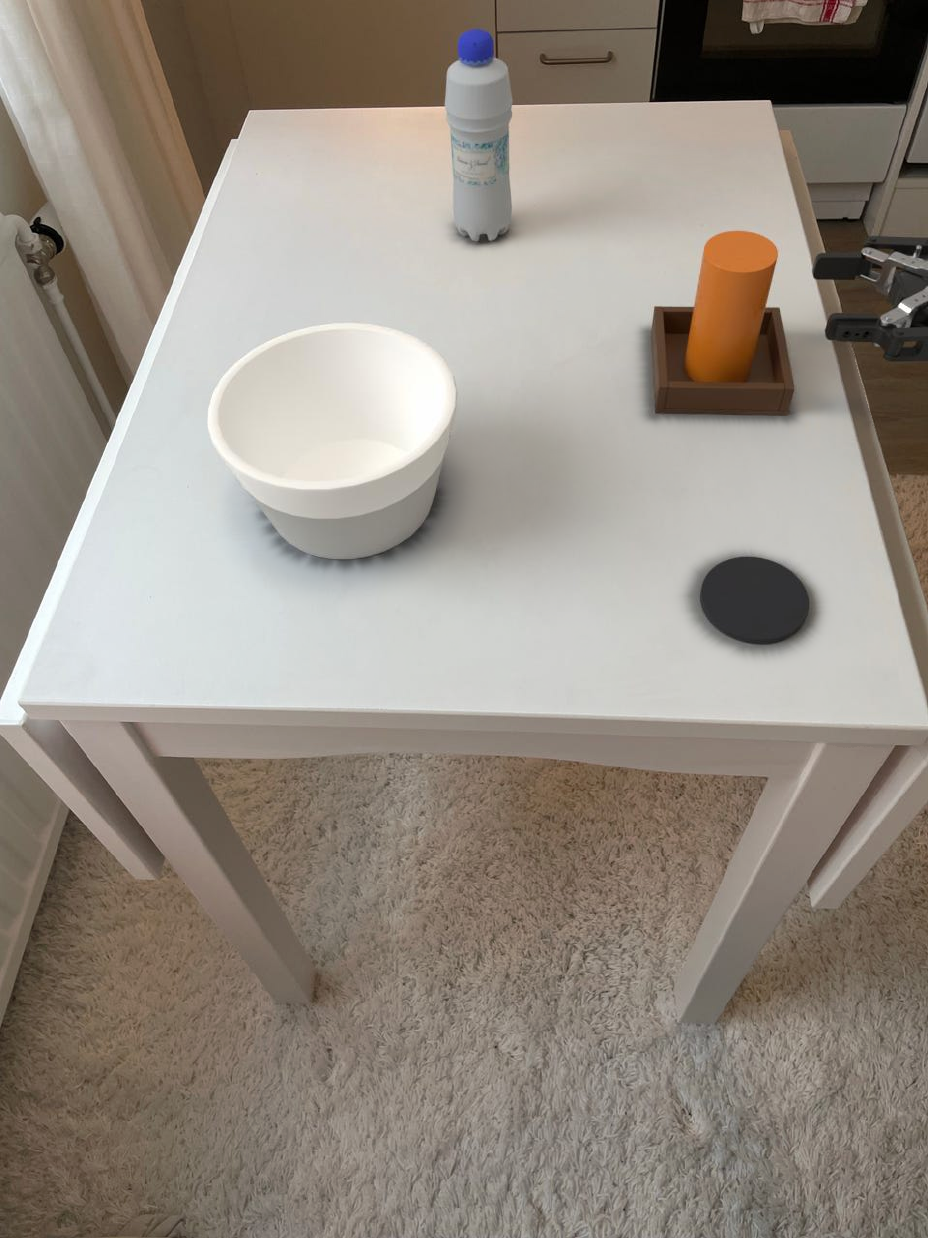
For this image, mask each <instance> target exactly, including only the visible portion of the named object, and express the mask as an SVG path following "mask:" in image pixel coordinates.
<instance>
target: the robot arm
mask: <svg viewBox="0 0 928 1238" xmlns="http://www.w3.org/2000/svg"><path fill="white" fill-rule="evenodd" d="M865 238H866V239H865V242H864V244H863V247H862V249H861V250H860V251H857V252H842V251H841V252H838V251H837V252H836V251H835V252H833V251H832V252H830V251H829V252H820V253H818V254H817V255H816V256H815V259H814V262H813V266H812V269H811V273H812V278H813V279H814V280H819V281H821V280H823V281H829V280H830V281H855V280H856V279H857V280H859V281H862V282H865V283H867V284H869V285H871V286H874V288H875V291H876V292H877V293H878V294H880V295H883V296H886V297H887V298H888V301H889V303H890V304H891V305H892V309H891V310H889V311H888V312H885V313H884V314H881V315H880V317H879V316H878V313H877V312H875V313H874V312H833V313H831V314H830V315H829V316H828V318H827V321H826V325H825V328H824V335H825V338H826V339H827V340H828V341H836V342H840V343H841V342H843V343H847V342H848V343H849V342H850V343H853V342H854V343H871V344H872V345H873V346H874V347H876V348H881V349H882V351H883V356H882V357H883V359H884V360H885V361H888V362H892V363H893V362H895V363H896V362H897V363H898V362H928V237H914V236H913V237H912V236H887V235H886V236H885V235H869V236H867V237H865ZM878 249H880V250H881V249H882V250H890V251H889V253H886V252H883V251H880V250H878ZM872 269H882V270H881V271H880V273H879V272H877V271H874V270H872ZM896 270H901V271H899V272H897V274H895V272H896ZM907 342H908V343H910V342H911V343H913V342H914V343H915V345H913V346H908V347H907V346H906V347H904V345H905V343H907Z"/></svg>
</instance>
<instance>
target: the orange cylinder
mask: <svg viewBox="0 0 928 1238" xmlns="http://www.w3.org/2000/svg"><path fill="white" fill-rule="evenodd" d="M778 258H779V251H778V248H777V246H776V245H775V243H774V242H773V241H772V240H770V239H769V238H768V237H766V236H764V235H762V234H759V233H756V232H752V231H748V230H728V231H724V232H723V231H722V232H720V233H717V234H715V235H713V236H712V237H710V238H709V239H708V240H706V242H705V244H704V246H703V250H702V257H701V262H700V269H699V275H698V282H697V286H696V292H695V298H694V305H693V307H694V310H693V316H692V321H691V327H690V333H689V339H688V345H687V351H686V357H685V363H684V368H685V372H686V374H687V375H688V376H689V377H690V379H692V380H693V381H694V382H742V383H743V382H744V381H745V380H746V379H747V378H748V376H749V374H750V370H751V366H752V362H753V358H754V354H755V349H756V345H757V341H758V337H759V333H760V329H761V324H762V320H763V316H764V312H765V308H766V307H767V303H768V298H769V295H770V291H771V287H772V282H773V278H774V274H775V269H776V265H777V261H778Z"/></svg>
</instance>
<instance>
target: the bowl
mask: <svg viewBox="0 0 928 1238" xmlns="http://www.w3.org/2000/svg"><path fill="white" fill-rule="evenodd" d="M457 401H458V388H457V384H456V380H455V376H454V374H453V373H452V371H451V369H450V367H449V366H448V364H447V362H446V360H445V359H443V357H442V356H441V355H440V354H439V353H438V352H437V351H436V350H435V349H434V348H433V347H431V346H430V345H429V344H428V343H426V342H424V341H422V340H421V339H420V338H418V337H416V336H413V335H411V334H409V333H406V332H404V331H402V330H399V329H395V328H391V327H388V326H383V325H380V324H372V323H362V322H335V323H328V324H327V323H326V324H320V325H319V324H318V325H312V326H307V327H304V328H299V329H296V330H293V331H289V332H287V333H285V334H282V335H279V336H277V337H274V338H272V339H270V340H268V341H266V342H264V343H262V344H261V345H259V346H257V347H255V348H253V349H252V350H250V351H249V352H248V353H246V354H245V355H244V356H242V357H241V358H240V359H238V360H237V361H236V362H235V363H233V365H232V366H231V367H230V368H229V369H228V370H227V371H226V372H225V374H224V375H223V376H221V379H220V380H219V382H218V383H217V385H216V387H215V389H214V390H213V392H212V395H211V398H210V401H209V405H208V408H207V430H208V434H209V437H210V441H211V444H212V445H213V447H214V449H215V450H216V452H217V453H218V455H219V456H220V458H221V459H222V461H223V462H224V463H225V465H226V466H227V467H228V468H229V470H230V471H231V472H232V474H233V475H234V477H235V478H236V479H237V480H238V482H239V483H240V484H241V486H242V487H243V488H244V490H245V491H247V493H248V494H249V496H250V497H251V498H252V499H253V501H254V502H255V503H256V505H257V507H258V508H259V509H260V510H261V511H262V513H263V514H264V515H265V517H266V518H267V519H268V520H269V522H270V524H271V525H272V526H273V527H274V529H275V530H276V531H277V533H278V534H279V535H280V536H281V537H282V538H283V539H284V540H285V541H286V542H287V543H288V544H289V545H291V546H292V547H294V548H296V549H297V550H299V551H301V552H303V553H305V554H309V555H311V556H315V557H317V558H323V559H324V558H325V559H330V560H356V559H361V558H367V557H371V556H374V555H378V554H381V553H384V552H386V551H388V550H391V549H392V548H395V547H397V546H399V545H400V544H402V543H403V542H404V541H405V540H407V539H409V538H410V537H411V536H412V535H413V534H415V533H416V531H417V530H419V528H420V527H422V525H423V523H424V522H425V520H426V519H427V517H428V516H429V515H430V512H431V509H432V505H433V503H434V500H435V495H436V491H437V487H438V484H439V479H440V474H441V471H442V467H443V463H444V459H445V455H446V451H447V448H448V445H449V440H450V437H451V431H452V428H453V424H454V420H455V416H456V412H457V405H458V402H457Z"/></svg>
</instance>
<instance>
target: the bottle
mask: <svg viewBox="0 0 928 1238" xmlns="http://www.w3.org/2000/svg"><path fill="white" fill-rule="evenodd" d="M457 55H458V60H456V61H454V62H453V63H452V64H451V65H450V66H449V67H447V71H446V81H445V82H446V83H445V85H446V86H445V95H444V96H445V97H444V108H445V111H446V115H445V119H446V122H447V124H448V126H449V130H450V131H449V132H450V147H451V163H452V179H453V180H452V182H453V183H452V210H453V211H452V212H453V217H454V218H453V219H454V222H455V226H456V228H457V231H458V233H460V235H461V236H463V237H468V236H469V238H470V239H471V241H473V242H479V241H480V237H481V235H487V240H488V241H490V242H491V241H494V240H496V238H498V235H504V234H506V232H507V231H508V230H509V228H510V226H511V225H510V224H511V220H512V210H513V209H512V208H513V205H512V190H511V189H512V188H511V181H510V180H511V179H510V122H511V120H512V118H513V111H512V108H513V102H514V100H513V99H514V98H513V93H512V88H511V87H512V86H511V81H510V74H509V68H508V66H507V64H506V63H505V62H504V60H501V59H500V58H497V57H495V44H494V38H493V36H492V35H491V34H490V32H489V31H487V30H484V29H482V28H481V29H480V28H473V29H468V30H466V31H464V32H463V33H461V34H460V36H459V37H458V41H457Z"/></svg>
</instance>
